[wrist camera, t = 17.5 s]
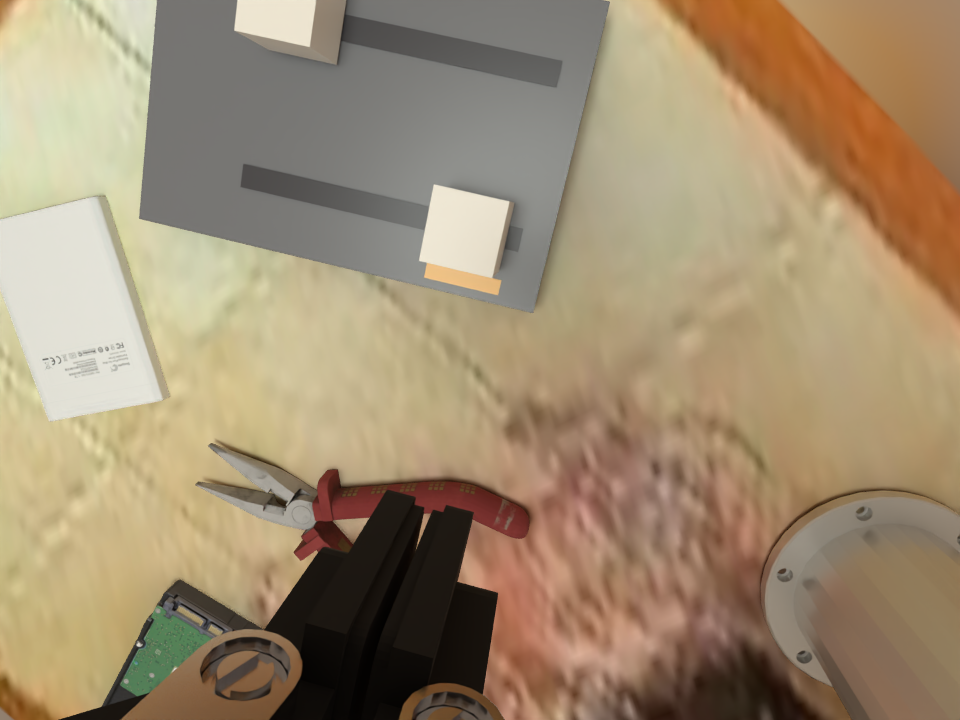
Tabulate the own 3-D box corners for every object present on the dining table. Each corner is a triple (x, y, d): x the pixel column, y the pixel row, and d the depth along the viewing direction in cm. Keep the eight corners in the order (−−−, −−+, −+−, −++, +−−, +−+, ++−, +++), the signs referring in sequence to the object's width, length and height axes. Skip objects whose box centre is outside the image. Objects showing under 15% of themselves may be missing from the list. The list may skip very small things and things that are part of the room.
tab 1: (348, -13, 30) (322, -42, 27) (336, 65, 31) (309, 46, 28) (278, -28, 30) (243, -58, 27) (269, 50, 31) (234, 30, 28)
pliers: (236, 377, 39) (214, 389, 37) (537, 504, 39) (535, 524, 36) (190, 530, 42) (167, 550, 40) (469, 648, 42) (463, 677, 39)
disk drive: (226, 788, 47) (310, 649, 43) (205, 824, 44) (293, 679, 40) (105, 718, 47) (179, 572, 43) (77, 750, 44) (153, 596, 40)
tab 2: (514, 202, 32) (509, 201, 28) (498, 271, 32) (492, 278, 29) (446, 187, 32) (433, 184, 28) (433, 255, 33) (418, 260, 29)
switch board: (605, 17, 32) (610, 1, 29) (534, 306, 35) (533, 313, 33) (193, -69, 33) (163, -92, 31) (166, 218, 37) (138, 218, 34)
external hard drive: (113, 196, 38) (176, 394, 40) (-4, 225, 39) (63, 415, 41) (94, 195, 36) (160, 401, 38) (-28, 225, 37) (43, 423, 40)
